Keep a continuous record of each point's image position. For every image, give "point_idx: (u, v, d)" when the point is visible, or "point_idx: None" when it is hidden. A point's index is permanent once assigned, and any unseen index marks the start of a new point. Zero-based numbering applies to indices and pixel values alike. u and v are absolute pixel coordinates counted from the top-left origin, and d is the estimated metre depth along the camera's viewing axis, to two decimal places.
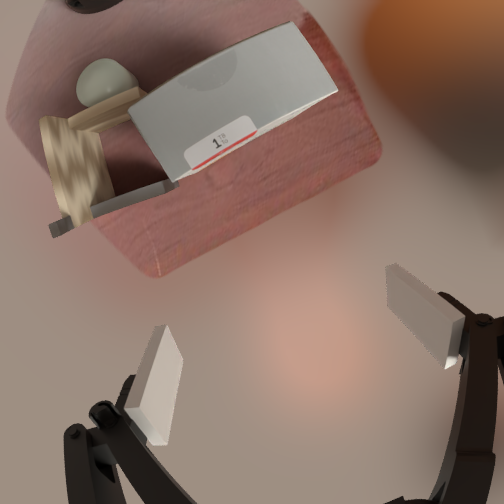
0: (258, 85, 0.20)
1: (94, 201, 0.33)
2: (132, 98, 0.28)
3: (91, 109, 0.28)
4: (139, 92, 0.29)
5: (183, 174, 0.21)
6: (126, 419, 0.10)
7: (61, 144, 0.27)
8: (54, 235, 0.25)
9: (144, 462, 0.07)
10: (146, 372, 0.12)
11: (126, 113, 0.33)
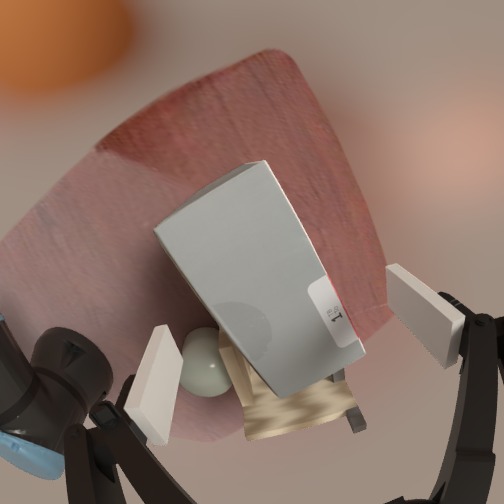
0: (266, 275, 0.17)
1: None
2: (232, 352, 0.31)
3: (237, 387, 0.33)
4: (225, 345, 0.31)
5: (361, 345, 0.19)
6: (126, 419, 0.10)
7: (273, 416, 0.31)
8: (364, 428, 0.26)
9: (144, 462, 0.07)
10: (146, 372, 0.12)
11: None
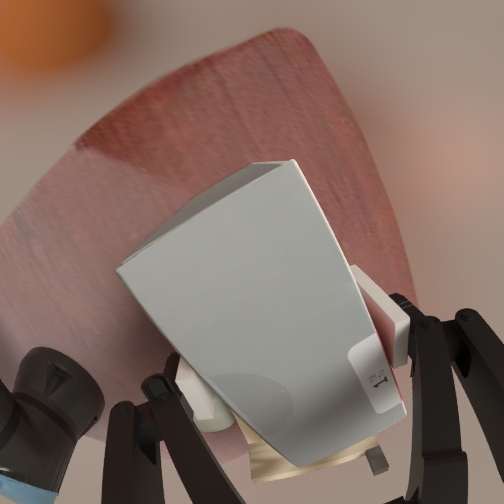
0: (291, 338, 0.11)
1: None
2: None
3: (243, 426, 0.27)
4: None
5: (403, 407, 0.13)
6: (176, 393, 0.11)
7: None
8: (386, 470, 0.20)
9: (190, 439, 0.08)
10: None
11: None
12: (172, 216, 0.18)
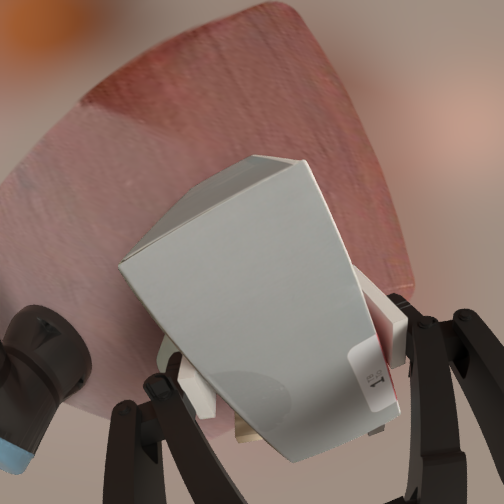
0: (293, 338, 0.11)
1: None
2: None
3: None
4: None
5: (397, 406, 0.13)
6: (178, 392, 0.11)
7: None
8: (381, 429, 0.21)
9: (191, 438, 0.08)
10: None
11: None
12: (172, 208, 0.18)
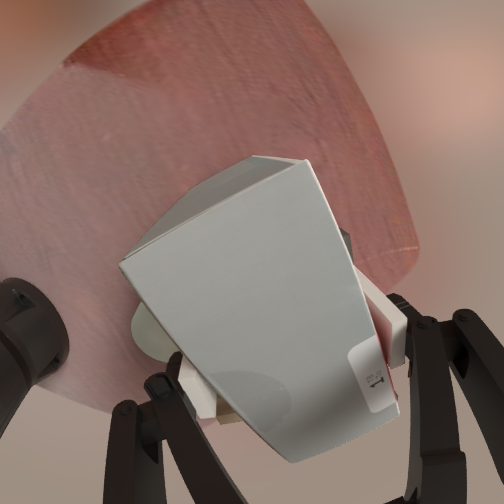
0: (293, 337, 0.11)
1: None
2: None
3: None
4: None
5: (397, 407, 0.13)
6: (178, 391, 0.11)
7: None
8: None
9: (192, 438, 0.08)
10: None
11: None
12: (172, 207, 0.18)
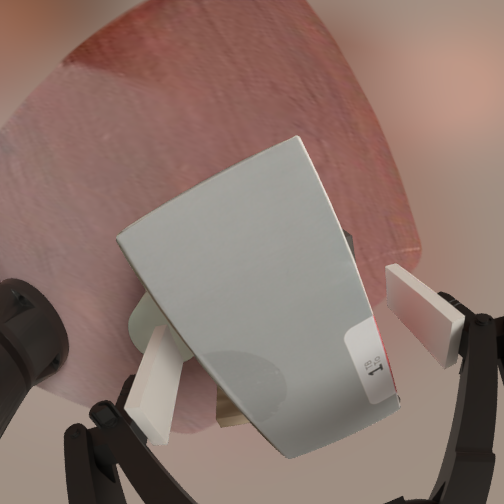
0: (288, 315, 0.11)
1: None
2: None
3: None
4: None
5: (397, 399, 0.13)
6: (126, 419, 0.10)
7: None
8: None
9: (144, 462, 0.07)
10: (146, 372, 0.12)
11: None
12: None
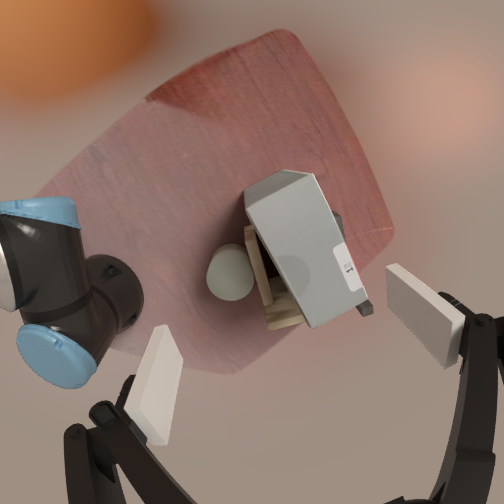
0: (310, 239, 0.28)
1: None
2: (256, 245, 0.40)
3: (260, 283, 0.41)
4: (250, 239, 0.40)
5: (365, 291, 0.30)
6: (126, 419, 0.10)
7: (291, 308, 0.40)
8: (371, 311, 0.34)
9: (144, 462, 0.07)
10: (146, 372, 0.12)
11: (260, 252, 0.45)
12: (247, 195, 0.36)
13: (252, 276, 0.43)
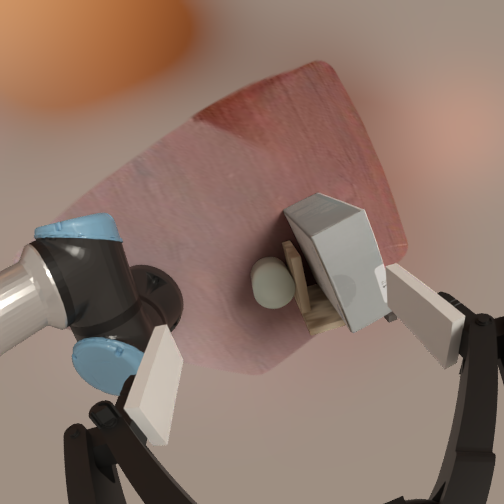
0: (358, 262, 0.34)
1: None
2: (300, 262, 0.45)
3: (301, 294, 0.47)
4: (295, 256, 0.45)
5: None
6: (126, 419, 0.10)
7: (328, 315, 0.45)
8: (395, 318, 0.40)
9: (144, 462, 0.07)
10: (146, 372, 0.12)
11: None
12: (298, 219, 0.41)
13: (294, 287, 0.49)
